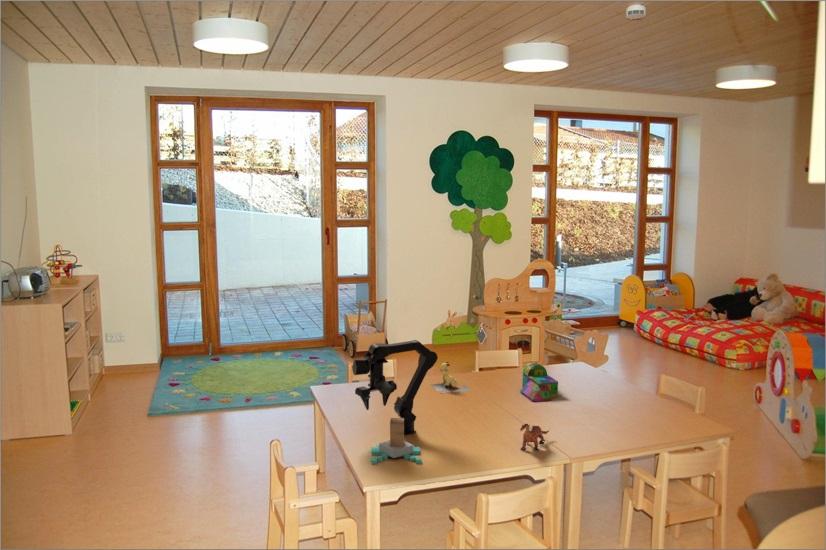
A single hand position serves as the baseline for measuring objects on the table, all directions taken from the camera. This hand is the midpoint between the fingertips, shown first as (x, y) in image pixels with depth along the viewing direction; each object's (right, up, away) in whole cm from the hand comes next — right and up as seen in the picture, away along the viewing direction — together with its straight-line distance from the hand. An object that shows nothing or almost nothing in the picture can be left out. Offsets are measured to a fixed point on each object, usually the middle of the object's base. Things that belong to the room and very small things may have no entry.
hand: (376, 407), depth 287 cm
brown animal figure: (+66, -16, -9) cm, 69 cm away
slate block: (+9, -14, -17) cm, 24 cm away
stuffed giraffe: (+37, -4, +73) cm, 82 cm away
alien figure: (+9, -17, -16) cm, 25 cm away
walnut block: (+10, -11, -17) cm, 23 cm away
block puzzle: (+83, -6, +65) cm, 106 cm away
